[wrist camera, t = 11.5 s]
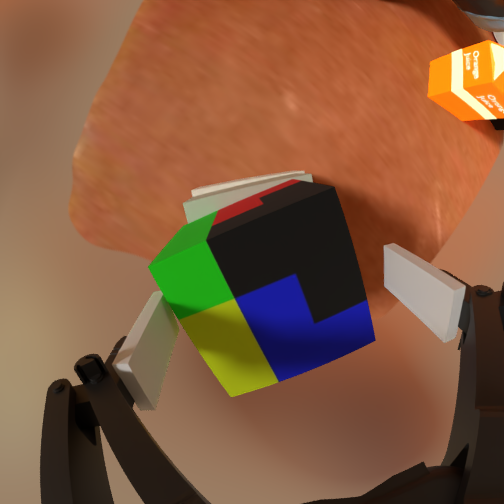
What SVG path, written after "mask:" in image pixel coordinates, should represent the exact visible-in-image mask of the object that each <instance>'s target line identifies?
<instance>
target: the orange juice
mask: <svg viewBox="0 0 504 504" xmlns="http://www.w3.org/2000/svg"><path fill="white" fill-rule="evenodd" d="M428 98H430V99H431V100H433V101H434V102H436V103H437V104H439V105H440V106H442V107H443V108H445V109H446V110H448V111H449V112H450V113H452V114H453V115H455V116H456V117H457V118H459V119H460V120H461V121H468V120H480V119H497V118H504V46H502V45H500V44H497V43H495V42H492V41H490V40H487V41H484V42H481V43H478V44H475V45H472V46H469V47H466V48H464V49H460V50H457V51H455V52H452V53H450V54H448V55H445V56H443V57H440V58H438V59H435V60H433V61H431V62H430V75H429V89H428Z"/></svg>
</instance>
